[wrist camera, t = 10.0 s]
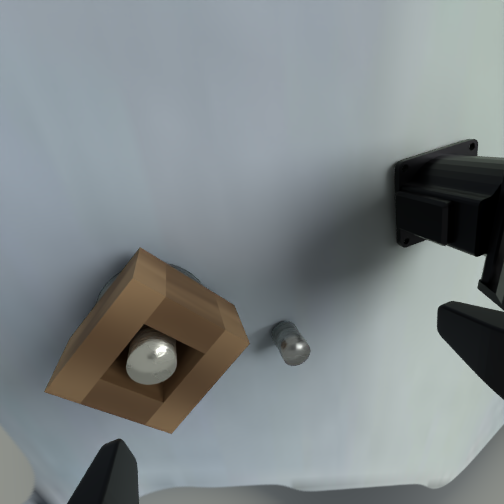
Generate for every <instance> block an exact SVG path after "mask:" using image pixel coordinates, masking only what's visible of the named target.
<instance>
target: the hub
mask: <svg viewBox="0 0 504 504" xmlns="http://www.w3.org/2000/svg"><path fill="white" fill-rule="evenodd" d="M168 265H170V266H171V267H173V268H175V269H176V270H178V271H179V272H181V273H183V274H184V275H186V276H188V277H189V278H191V279H192V280H194V281H196V282H197V283H199V284H201V283H200V281H199V280H198V279H197V278H196V277H195V276H194V275H192V274H191V273H190V272H188V271H186V270H185V269H182V268H180V267H178V266H175V265H171V264H168ZM120 273H121V272H120ZM120 273H118V274H117V275H116V276H114V277H113V278H112V279H111V280H110V281H109V282H108V283H107V284H106V285H105V287H104V288H103V290H102V291H101V293H100V295H99V298H98V300H97V302H96V304H97V303H98V301H99V300H100V299H101V297H102V296H103V295H104V294H105V292H106V291H107V290H108V288H109V287H110V286H111V284H112V283H113V282H114V281H115V279H116V278H117V277H118V275H119V274H120ZM201 285H202V284H201ZM202 286H203V285H202ZM176 366H177V353H176V339H174V338H172V337H170V336H168V335H166V334H164V333H162V332H160V331H158V330H156V329H154V328H152V327H150V326H148V325H146V324H143V326H142V327H141V328H140V329H139V331H138V332H137V333H136V334H135V336H134V337H133V338H132V339H131V342H130V347H129V353H128V359H127V364H126V370H127V373H128V375H129V377H130V378H131V379H132V380H134V381H135V382H138V383H140V384H146V385H152V384H157V383H160V382H163V381H165V380H166V379H168V378H169V377H170V376H171V375H172V374H173V373H174V371H175V369H176Z"/></svg>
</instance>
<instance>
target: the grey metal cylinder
mask: <svg viewBox="0 0 504 504" xmlns="http://www.w3.org/2000/svg"><path fill="white" fill-rule="evenodd" d="M272 338H273V340H274V342H275V344H276V346H277V348H278V350H279V352H280V354H281V356H282V357H283V359H284V361H285V363H286V364H288V365H290V366H296V365H300V364H302V363H303V362H305V361H306V360H307V358H308V357H309V355H310V347H309V345H308V344H307V342H306V341H305V339H304V338H303V337H302V335H301V334H300V332H299V331H298V329H297V328H296V326H295V325H294V324H293V323H291V322H287V321H286V322H282V323H279V324H278V325H277V326H276V327H275V328H274V329H273V331H272Z"/></svg>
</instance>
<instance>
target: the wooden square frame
mask: <svg viewBox="0 0 504 504" xmlns="http://www.w3.org/2000/svg"><path fill="white" fill-rule="evenodd" d="M143 324H146V325H148V326H150V327H152V328H154V329H156V330H158V331H160V332H162V333H164V334H166V335H168V336H170V337H172V338H174V339H176V353H177V366H176V369H175V371H174V373H173V374H172V375H171V376H170V377H169V378H168V379H166V380H165V381H163V382H160V383H157V384H152V385H146V384H140V383H138V382H135V381H134V380H132V379H131V378H130V377H129V375H128V373H127V370H126V364H127V359H128V353H129V347H130V342H131V339H132V338H133V337H134V336H135V334H136V333H137V332H138V331H139V329H140V328H141V327H142V326H143ZM249 344H250V343H249V340H248V338H247V335H246V333H245V330H244V328H243V326H242V323H241V321H240V318H239V316H238V313H237V311H236V308H235V306H234V305H233V304H231V303H230V302H228V301H227V300H225V299H223V298H222V297H220V296H218V295H217V294H215V293H214V292H212V291H210V290H209V289H207V288H205V287H204V286H202V285H201V284H199V283H197V282H196V281H194V280H192V279H191V278H189V277H188V276H186V275H184V274H183V273H181V272H179V271H178V270H176V269H175V268H173V267H171V266H170V265H168V264H166V263H165V262H163V261H162V260H160V259H158V258H157V257H155V256H153V255H152V254H150V253H148V252H147V251H145V250H144V249H142V248H139V249H138V251H137V252H136V253H135V255H134V256H133V257H132V258H131V260H130V261H129V262H128V264H127V265H126V266H125V268H124V269H123V270H122V271H121V273H120V274H119V275H118V277H117V278H116V279H115V281H114V282H113V283H112V284H111V286H110V287H109V288H108V290H107V291H106V292H105V294H104V295H103V296H102V297H101V299H100V300H99V301H98V303H97V304H96V305H95V306H94V308H93V309H92V310H91V312H90V313H89V314H88V316H87V317H86V318H85V319H84V321H83V322H82V323H81V325H80V326H79V327H78V329H77V330H76V331H75V332H74V334H73V335H72V336H71V338H70V339H69V341H68V343H67V345H66V347H65V349H64V352H63V354H62V356H61V358H60V360H59V362H58V364H57V366H56V368H55V370H54V372H53V375H52V377H51V379H50V381H49V383H48V385H47V387H46V389H45V391H44V392H46V393H49V394H52V395H55V396H58V397H61V398H64V399H67V400H70V401H73V402H76V403H79V404H82V405H85V406H88V407H91V408H94V409H97V410H101V411H104V412H107V413H110V414H113V415H116V416H119V417H122V418H125V419H128V420H131V421H134V422H137V423H140V424H143V425H146V426H149V427H152V428H155V429H158V430H161V431H164V432H167V433H170V434H172V433H173V431H174V430H175V429H176V428H177V427H178V426H179V424H180V423H181V422H182V421H183V420H184V419H185V418H186V416H187V415H188V414H189V413H190V412H191V411H192V409H193V408H194V407H195V406H196V405H197V404H198V403H199V401H200V400H201V399H202V398H203V397H204V396H205V394H206V393H207V392H208V391H209V390H210V389H211V388H212V386H213V385H214V384H215V383H216V382H217V381H218V379H219V378H220V377H221V376H222V375H223V374H224V373H225V371H226V370H227V369H228V368H229V367H230V366H231V364H232V363H233V362H234V361H235V360H236V359H237V358H238V356H239V355H240V354H241V353H242V352H243V351H244V349H245V348H246V347H247V346H248V345H249Z"/></svg>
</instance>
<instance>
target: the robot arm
mask: <svg viewBox="0 0 504 504" xmlns="http://www.w3.org/2000/svg"><path fill="white" fill-rule="evenodd" d="M469 146H470V147H469ZM477 151H478V142H477V140H475V139H467V140H464V141H461V142H457V143H454V144H451V145H448V146H445V147H442V148H438V149H435V150H432V151H429V152H426V153H423V154H419V155H416V156H413V157H410V158H407V159H404V160H401V161H399V162H398V163H397V164H396V166H395V196H396V225H397V243H398V245H400V246H402V247H408V246H411V245H414V244H416V243H419V242H422V241H424V240H429V241H432V242H434V243H437V244H439V245H442V246H446V245H447V246H450V247H452V248H455V249H457V250H460V251H463V252H465V253H468V254H470V255H473V256H475V257H478V256H481V255H484V256H486V259H485V263H484V268H483V273H482V277H481V279H480V280H479V283H478V287H477V288H478V289H479V290H480V291H481V292H482V293H484V294H485V295H486V296H487V297H488V298H490V299H491V300H492V301H493V302H494V303H496V304H497V305H498V306H499V307H500V308H502V309H503V310H504V158H500V157H483V156H477ZM403 165H404V169H403V171H402V167H403ZM404 240H405V241H404ZM437 330H438V332H439V334H440V336H441V337H442V338H443V339H444V340H445V341H446V342H447V343H448V344H449V345H450V346H451V348H452V349H453V350H454V351H455V352H456V353H457V354H458V355H459V356H460V357H461V358H462V359H463V360H464V361H465V362H466V364H467V365H468V366H469V367H470V368H471V369H472V370H473V371H474V372H475V373H476V374H477V375H478V376H479V377H480V378H481V379H482V380H483V381H484V382H485V383H486V384H487V385H488V386H489V387H490V388H491V389H492V390H493V391H494V392H496V393H497V394H498V395H499V396H500V397H501V398H502V399H503V400H504V312H502V311H497V310H493V309H488V308H483V307H479V306H474V305H470V304H465V303H461V302H456V301H450V302H448V303H445V304H443V305H440V306H439V308H438V313H437ZM67 504H139V491H138V469H137V462H136V459H135V457H134V455H133V454H132V453H131V451H130V450H129V448H128V447H127V445H126V444H125V442H124V441H123V440H122V439H116V440H114V441H112V442H109V443H107V444H105V445H103V446H102V447H101V449H100V450H99V452H98V453H97V455H96V457H95V458H94V460H93V462H92V463H91V465H90V467H89V468H88V470H87V472H86V473H85V475H84V477H83V478H82V480H81V481H80V483H79V485H78V486H77V488H76V490H75V491H74V493H73V495H72V496H71V498H70V500H69V501H68V503H67Z"/></svg>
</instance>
